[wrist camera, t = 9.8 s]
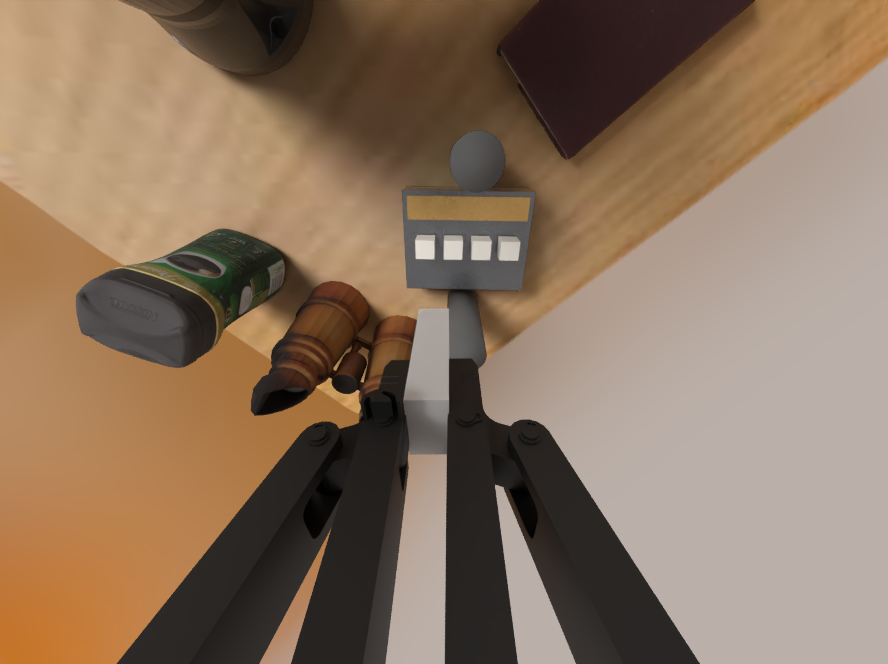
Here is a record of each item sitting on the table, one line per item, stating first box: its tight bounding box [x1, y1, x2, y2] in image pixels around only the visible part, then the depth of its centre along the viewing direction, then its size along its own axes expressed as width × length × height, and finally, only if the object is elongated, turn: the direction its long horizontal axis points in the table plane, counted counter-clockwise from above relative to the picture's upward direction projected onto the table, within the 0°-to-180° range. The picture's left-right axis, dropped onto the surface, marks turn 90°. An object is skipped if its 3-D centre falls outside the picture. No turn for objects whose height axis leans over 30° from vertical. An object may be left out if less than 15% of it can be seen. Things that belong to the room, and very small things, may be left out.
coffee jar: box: [76, 229, 285, 368], centre depth 34 cm, size 10×8×19 cm
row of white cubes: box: [415, 235, 520, 261], centre depth 35 cm, size 2×11×2 cm, turn 89°
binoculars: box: [251, 281, 417, 423], centre depth 37 cm, size 18×8×20 cm, turn 59°
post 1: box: [450, 130, 505, 193], centre depth 29 cm, size 4×4×14 cm
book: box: [497, 0, 755, 159], centre depth 29 cm, size 12×19×3 cm, turn 132°
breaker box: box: [402, 186, 536, 290], centre depth 38 cm, size 11×14×4 cm
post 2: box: [447, 289, 487, 368], centre depth 38 cm, size 4×4×14 cm
